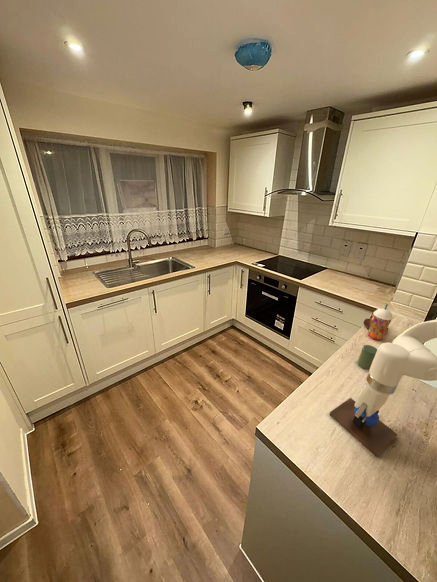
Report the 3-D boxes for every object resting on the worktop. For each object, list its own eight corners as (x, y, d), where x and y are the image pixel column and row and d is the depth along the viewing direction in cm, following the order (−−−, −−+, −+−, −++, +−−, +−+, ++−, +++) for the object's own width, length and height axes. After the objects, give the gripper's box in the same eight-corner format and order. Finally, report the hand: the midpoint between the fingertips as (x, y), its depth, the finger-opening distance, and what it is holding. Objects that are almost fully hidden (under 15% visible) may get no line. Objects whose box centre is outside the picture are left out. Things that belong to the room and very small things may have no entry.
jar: (374, 367, 104) (381, 350, 100) (367, 371, 102) (374, 355, 98) (361, 358, 109) (367, 343, 105) (354, 363, 106) (360, 347, 102)
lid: (349, 412, 78) (350, 409, 77) (361, 403, 81) (362, 400, 81) (370, 430, 73) (371, 426, 72) (382, 420, 76) (383, 417, 75)
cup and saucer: (370, 334, 127) (374, 324, 125) (358, 322, 138) (361, 313, 135) (392, 334, 128) (396, 325, 125) (377, 322, 139) (381, 313, 136)
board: (396, 437, 75) (397, 434, 75) (376, 457, 70) (377, 453, 69) (349, 400, 88) (350, 397, 87) (329, 414, 82) (330, 411, 81)
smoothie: (363, 336, 125) (374, 303, 117) (368, 330, 130) (380, 298, 122) (380, 344, 120) (394, 310, 111) (385, 337, 125) (399, 305, 116)
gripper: (383, 363, 77) (367, 401, 85) (352, 383, 69) (337, 423, 77) (409, 378, 71) (389, 418, 79) (378, 402, 63) (359, 444, 71)
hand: (364, 420), depth 78 cm, fingers closed on lid, 6 cm apart
